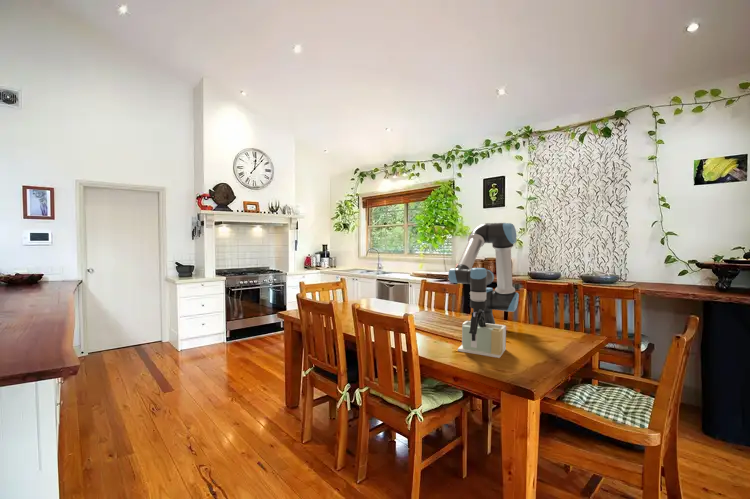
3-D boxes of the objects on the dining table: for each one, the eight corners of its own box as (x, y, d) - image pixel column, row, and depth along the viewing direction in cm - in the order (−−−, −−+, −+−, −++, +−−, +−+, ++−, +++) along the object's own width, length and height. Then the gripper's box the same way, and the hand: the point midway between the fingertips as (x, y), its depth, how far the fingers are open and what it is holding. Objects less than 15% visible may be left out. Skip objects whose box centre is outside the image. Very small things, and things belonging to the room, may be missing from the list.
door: (465, 346, 185) (465, 324, 184) (502, 351, 175) (502, 329, 175) (462, 348, 180) (462, 326, 180) (499, 355, 171) (500, 331, 171)
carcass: (466, 343, 193) (466, 320, 192) (505, 349, 183) (506, 325, 182) (457, 350, 181) (457, 326, 180) (499, 357, 171) (500, 332, 170)
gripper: (477, 295, 190) (476, 336, 191) (462, 303, 169) (462, 349, 170) (492, 296, 186) (491, 338, 187) (479, 305, 165) (478, 352, 166)
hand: (477, 343), depth 178 cm, fingers open, 13 cm apart
